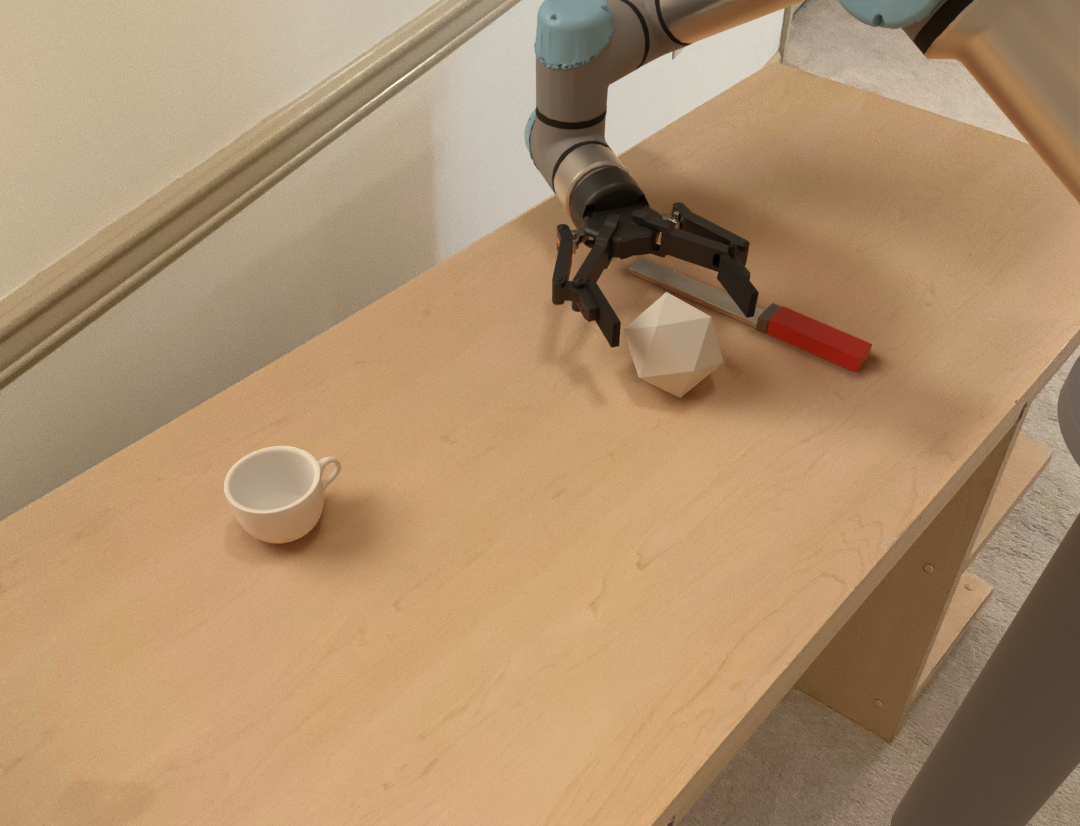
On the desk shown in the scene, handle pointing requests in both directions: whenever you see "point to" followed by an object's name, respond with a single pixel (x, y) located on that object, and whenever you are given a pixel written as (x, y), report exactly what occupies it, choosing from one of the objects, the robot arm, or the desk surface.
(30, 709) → the desk surface
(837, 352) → the knife
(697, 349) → the white icosahedron
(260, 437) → the desk surface
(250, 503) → the teacup
